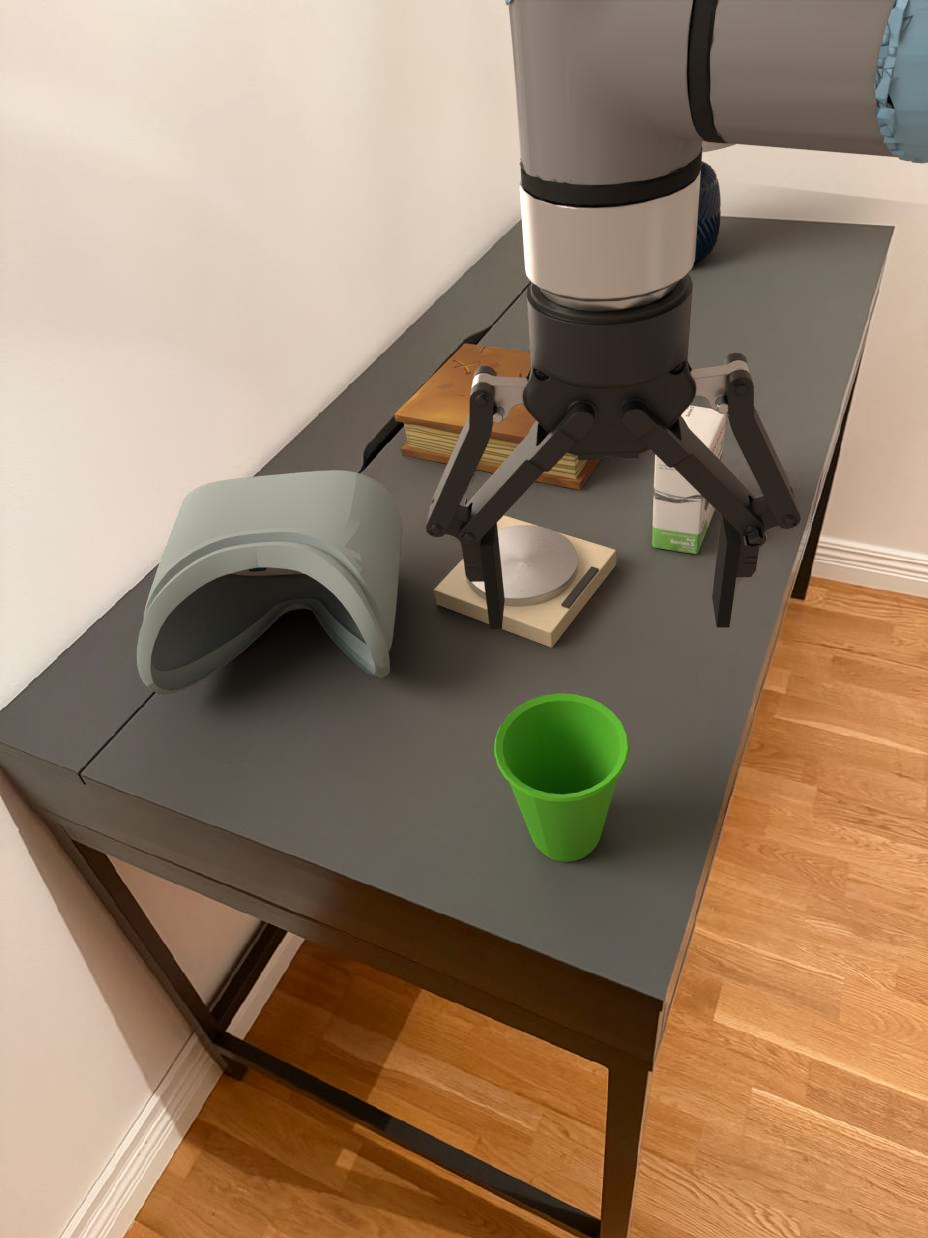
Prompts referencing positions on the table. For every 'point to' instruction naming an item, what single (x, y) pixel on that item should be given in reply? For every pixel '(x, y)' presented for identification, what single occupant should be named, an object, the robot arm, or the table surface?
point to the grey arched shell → (272, 572)
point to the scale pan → (533, 565)
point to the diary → (446, 408)
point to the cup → (562, 769)
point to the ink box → (685, 490)
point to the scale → (541, 618)
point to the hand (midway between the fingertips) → (607, 613)
